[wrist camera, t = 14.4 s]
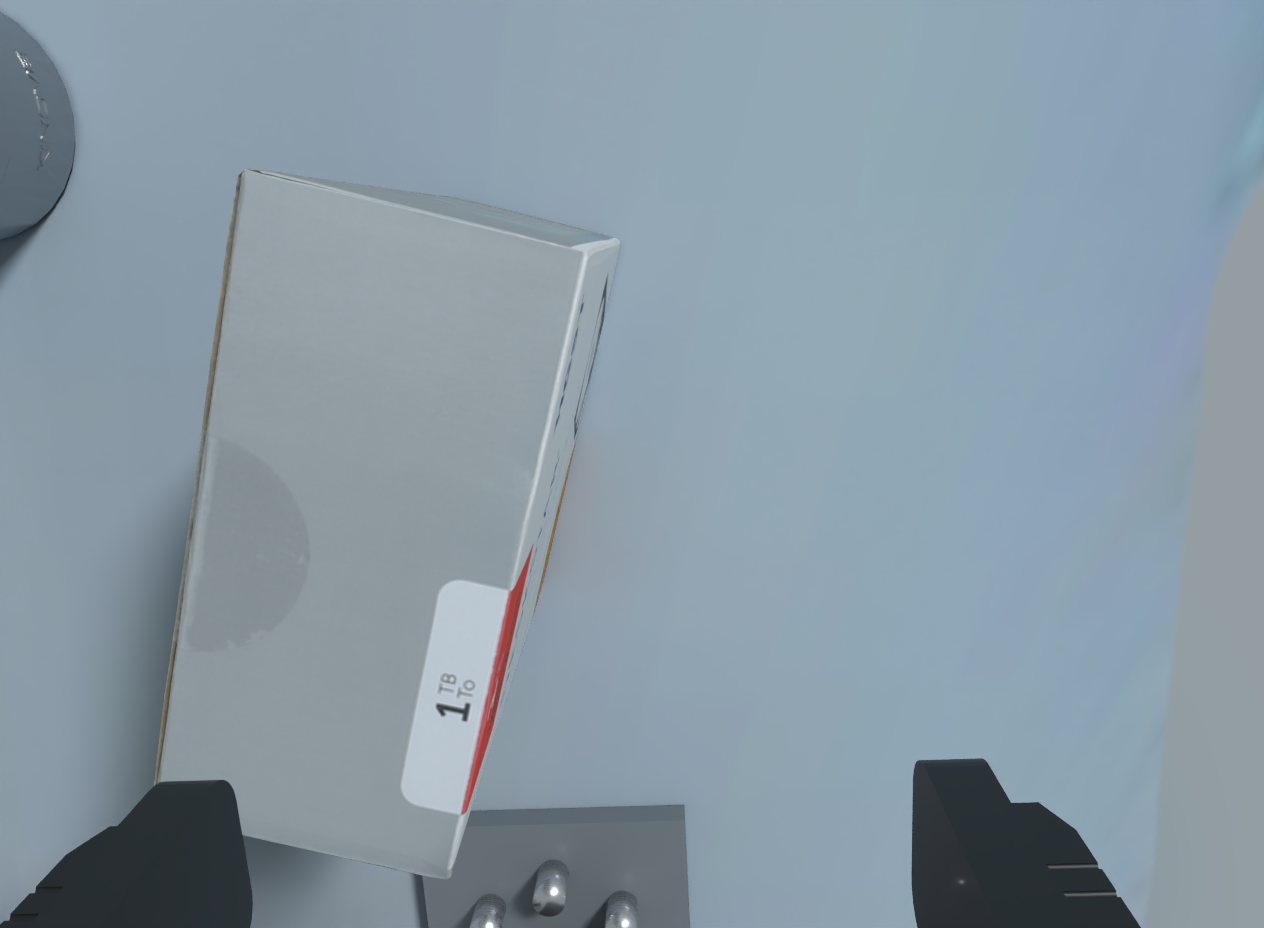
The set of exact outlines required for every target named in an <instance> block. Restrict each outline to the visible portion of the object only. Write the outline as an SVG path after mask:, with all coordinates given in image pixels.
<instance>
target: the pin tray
mask: <svg viewBox="0 0 1264 928" xmlns="http://www.w3.org/2000/svg"><path fill="white" fill-rule="evenodd" d="M422 879H423V887H424V895H425V904H426V912H427V920H428V928H690V918H689V897H688V876H687V855H686V833H685V812H684V805H666V806H631V807H595V808H560V809H525V810H490V811H470V815H469V818H468V821H467V824H466V828H465V831H464V834H463V837H462V840H461V844H460V847H459V850H458V853H457V857H456V860H455V863H454V868H453V873H452V876H451V878H449V879H447V880H445V879H440V878H435V877H429V876H423V875H422Z"/></svg>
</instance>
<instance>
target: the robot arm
mask: <svg viewBox="0 0 1264 928" xmlns="http://www.w3.org/2000/svg"><path fill="white" fill-rule="evenodd" d="M74 147H75V132H74V120H73V113H72V109H71V106H70V102H69V98H68V95H67V91H66V88H65V86H64V84H63V82H62V80H61V78H60V76H59V74H58V72H57V70H56V68H55V66H54V64H53V62H52V61H51V60H50V58H49V57H48V56H47V54H46V53H45V52H44V50H43V49H42V48H41V46H40V45H39V43H38V42H37V41H36V40H35V39H34V38H33V37H32V36H31V35H30V34H28V33H27V32H26V31H25V30H24V29H23V28H22V27H21V26H20V25H19V24H18V23H17V22H15V21H14V20H12V19H10V18H9V17H7V16H6V15H4V14H3V13H1V12H0V240H1V239H5V238H9V237H12V236H16V235H17V234H19V233H21V232H23V231H24V230H26V229H28V228H30V227H31V226H33V225H35V224H36V223H37V222H38V221H39V220H40V219H41V218H42V217H43V216H44V215H46V214H47V213H48V212H49V211H50V210H51V209H52V207H53V206H54V204H55V203H56V201H57V199H58V198H59V196H60V195H61V193H62V192H63V190H64V188H65V185H66V182H67V180H68V177H69V174H70V171H71V168H72V164H73V155H74ZM912 894H913V904H914V911H915V917H916V922H917V927H918V928H1141V927H1140V926H1139V924H1138V923H1137V921H1136V920H1135V918H1134V917H1133V915H1132V914H1131V912H1130V911H1129V909H1128V908H1127V906H1126V905H1125V903H1124V902H1123V900H1122V899H1121V897H1117V895H1116V890H1115V888H1114V887H1113V885H1112V884H1111V882H1110V881H1109V879H1108V878H1107V876H1106V875H1105V873H1104V872H1103V870H1102V869H1099V868H1098V862H1097V861H1096V859H1095V858H1094V856H1093V855H1092V853H1091V852H1090V850H1089V849H1088V847H1087V846H1086V844H1085V843H1084V841H1083V840H1082V838H1081V837H1080V835H1079V834H1078V832H1077V831H1076V830H1075V829H1074V828H1073V827H1071V826H1070V825H1069V824H1067V823H1066V822H1064V821H1063V820H1062V819H1060V818H1059V817H1058V816H1056V815H1055V814H1053V813H1052V812H1051V811H1049V810H1048V809H1047V808H1045V807H1044V806H1042V805H1041V804H1040V803H1038V802H1035V803H1011V802H1010V800H1009V799H1008V797H1007V795H1006V794H1005V792H1004V790H1003V788H1002V787H1001V785H1000V783H999V782H998V780H997V778H996V776H995V775H994V773H993V771H992V770H991V768H990V766H989V765H988V763H987V762H986V761H985V760H984V759H950V760H919V761H917V762H916V764H915V768H914V775H913V822H912ZM252 905H253V902H252V890H251V884H250V878H249V872H248V866H247V860H246V854H245V848H244V842H243V836H242V830H241V824H240V818H239V812H238V806H237V800H236V796H235V793H234V790H233V788H232V786H231V785H230V783H229V782H227V781H226V780H197V781H164V782H159V783H158V784H156V785H155V786H154V787H153V788H152V789H151V790H150V791H149V792H148V793H147V794H146V795H145V796H144V797H143V799H142V800H141V801H140V802H139V803H138V804H137V805H136V806H135V807H134V809H133V810H132V811H131V812H130V813H129V814H128V815H127V816H126V817H125V819H124V820H123V821H122V822H121V823H120V824H119V825H118V826H112V827H108V828H107V829H105V830H104V831H102V832H101V833H99V834H97V835H96V836H94V837H93V838H91V839H90V840H88V841H87V842H85V843H84V844H82V845H80V846H79V847H77V848H76V849H74V850H73V851H71V852H70V853H68V854H67V855H66V856H65V857H64V858H63V859H62V860H61V861H60V862H59V863H58V864H57V865H56V866H55V867H54V868H53V869H52V870H51V871H50V873H49V874H48V875H47V876H46V877H45V878H44V879H43V880H42V881H41V882H40V883H39V884H38V885H37V886H36V891H35V893H32V894H29V895H28V896H27V897H26V898H25V899H24V900H23V901H22V902H21V903H20V904H19V906H18V907H17V908H16V909H15V910H14V911H13V912H12V913H11V917H10V920H9V921H3V923H2V924H1V925H0V928H250V925H251V919H252Z"/></svg>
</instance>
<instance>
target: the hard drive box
mask: <svg viewBox="0 0 1264 928" xmlns="http://www.w3.org/2000/svg"><path fill="white" fill-rule="evenodd" d="M620 244H621V242H620V241H619V240H618V239H615V238H612V237H608V236H604V235H601V234H597V233H593V232H589V231H586V230H582V229H578V228H574V227H570V226H567V225H563V224H559V223H555V222H551V221H547V220H543V219H539V218H535V217H531V216H527V215H523V214H519V213H515V212H511V211H507V210H503V209H499V208H495V207H491V206H487V205H483V204H479V203H475V202H471V201H466V200H461V199H457V198H452V197H447V196H435V195H428V194H421V193H414V192H407V191H400V190H393V189H387V188H381V187H374V186H367V185H360V184H352V183H346V182H339V181H332V180H325V179H318V178H312V177H305V176H298V175H291V174H284V173H277V172H270V171H262V170H254V169H244V170H243V171H242V172H241V174H240V175H239V176H238V181H237V186H236V191H235V196H234V202H233V207H232V213H231V220H230V227H229V233H228V241H227V248H226V255H225V262H224V270H223V277H222V285H221V292H220V299H219V307H218V314H217V321H216V328H215V335H214V342H213V349H212V356H211V364H210V371H209V378H208V386H207V394H206V402H205V410H204V418H203V426H202V434H201V442H200V450H199V456H198V463H197V470H196V477H195V484H194V491H193V498H192V505H191V513H190V520H189V528H188V535H187V542H186V548H185V555H184V562H183V570H182V577H181V584H180V591H179V598H178V605H177V612H176V619H175V625H174V632H173V639H172V646H171V653H170V660H169V667H168V674H167V681H166V687H165V694H164V701H163V709H162V718H161V726H160V734H159V743H158V751H157V760H156V771H155V781H154V786H155V785H156V784H158V783H159V782H164V781H197V780H226V781H227V782H229V783H230V785H231V786H232V788H233V790H234V793H235V796H236V800H237V806H238V812H239V818H240V824H241V830H242V835H243V836H248V837H252V838H257V839H261V840H266V841H270V842H275V843H279V844H283V845H288V846H292V847H297V848H301V849H306V850H310V851H315V852H319V853H324V854H328V855H333V856H338V857H342V858H347V859H351V860H356V861H360V862H365V863H369V864H374V865H378V866H382V867H387V868H391V869H395V870H400V871H405V872H409V873H414V874H418V875H423V876H429V877H435V878H440V879H445V880H447V879H449V878H451V876H452V873H453V868H454V863H455V860H456V857H457V853H458V850H459V847H460V844H461V840H462V837H463V834H464V831H465V828H466V824H467V821H468V818H469V815H470V811H471V808H472V805H473V802H474V798H475V795H476V792H477V789H478V785H479V782H480V779H481V776H482V773H483V770H484V766H485V763H486V760H487V757H488V754H489V751H490V748H491V744H492V741H493V738H494V735H495V732H496V729H497V726H498V722H499V719H500V716H501V713H502V710H503V707H504V704H505V701H506V698H507V695H508V692H509V689H510V686H511V683H512V680H513V677H514V673H515V670H516V667H517V664H518V661H519V659H520V656H521V653H522V650H523V647H524V644H525V641H526V637H527V634H528V631H529V628H530V624H531V621H532V618H533V615H534V612H535V608H536V605H537V602H538V598H539V595H540V591H541V587H542V584H543V580H544V576H545V572H546V568H547V563H548V559H549V555H550V550H551V546H552V542H553V538H554V533H555V529H556V525H557V520H558V516H559V512H560V507H561V503H562V499H563V494H564V490H565V485H566V481H567V477H568V472H569V468H570V464H571V460H572V455H573V451H574V447H575V442H576V438H577V434H578V430H579V425H580V421H581V417H582V412H583V408H584V404H585V400H586V395H587V391H588V386H589V382H590V377H591V373H592V369H593V365H594V360H595V356H596V352H597V348H598V343H599V339H600V335H601V331H602V326H603V322H604V317H605V313H606V308H607V304H608V299H609V295H610V290H611V286H612V281H613V277H614V272H615V268H616V264H617V259H618V255H619V250H620Z"/></svg>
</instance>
